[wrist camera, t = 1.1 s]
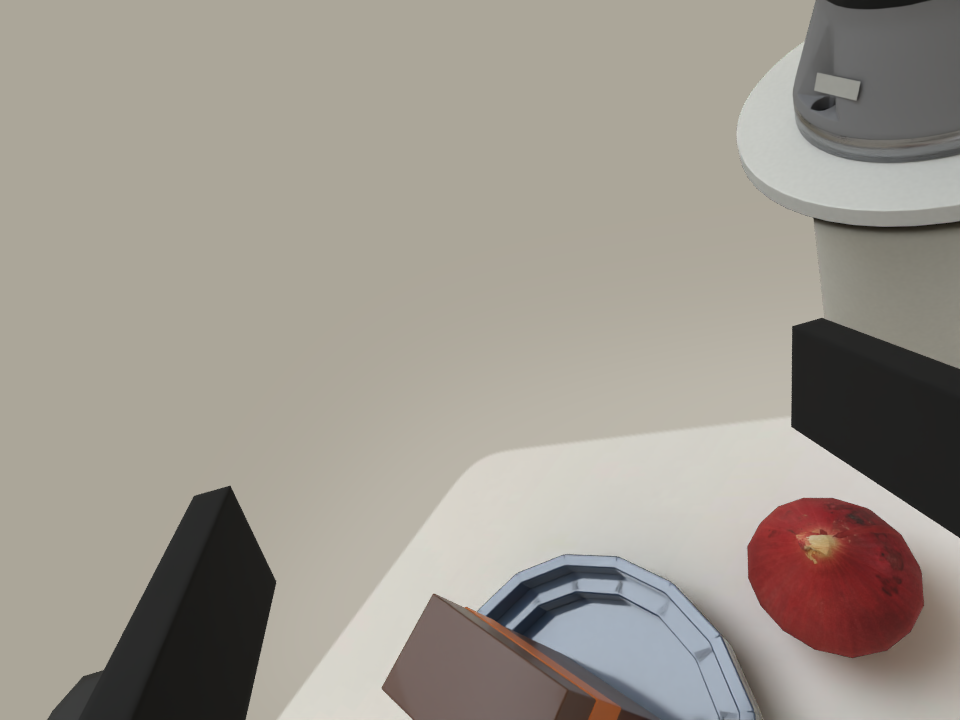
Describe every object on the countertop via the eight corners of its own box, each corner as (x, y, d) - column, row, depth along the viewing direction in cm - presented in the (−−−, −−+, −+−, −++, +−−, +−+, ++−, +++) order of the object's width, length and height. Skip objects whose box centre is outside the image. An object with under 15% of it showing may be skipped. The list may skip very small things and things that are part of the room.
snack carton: (561, 651, 28) (432, 590, 20) (674, 727, 24) (571, 689, 16) (528, 722, 27) (378, 688, 19) (641, 814, 23) (512, 821, 15)
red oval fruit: (828, 507, 26) (816, 430, 21) (955, 612, 22) (981, 550, 17) (734, 583, 26) (697, 527, 21) (841, 702, 22) (830, 669, 17)
